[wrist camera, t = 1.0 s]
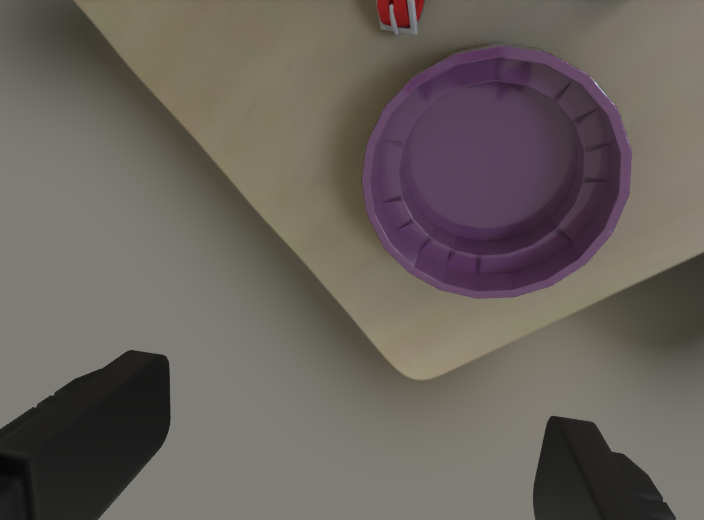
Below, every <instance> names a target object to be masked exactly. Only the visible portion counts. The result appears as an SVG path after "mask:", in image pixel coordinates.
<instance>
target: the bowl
mask: <svg viewBox="0 0 704 520" xmlns="http://www.w3.org/2000/svg"><path fill="white" fill-rule="evenodd" d="M631 161H632V149H631V146H630V143H629V140H628V137H627V134H626V131H625V128H624V125H623V122H622V119H621V116H620V113H619V110H618V108H617V107H616V106H615V105H614V104H613V102H612V101H611V100H610V99H609V98H608V96H607V95H606V94H605V93H604V92H603V90H602V89H601V88H600V87H599V86H598V85H597V83H596V82H595V81H594V80H593V79H592V77H591V76H590V75H588V74H587V73H585V72H583V71H581V70H580V69H578V68H576V67H574V66H572V65H570V64H569V63H567V62H565V61H563V60H561V59H559V58H557V57H556V56H554V55H552V54H550V53H548V52H546V51H544V50H542V49H539V48H535V47H528V46H521V45H515V44H508V43H501V42H500V43H492V44H487V45H482V46H476V47H471V48H466V49H460V50H458V51H456V52H454V53H452V54H450V55H449V56H447V57H445V58H443V59H441V60H439V61H438V62H436V63H434V64H432V65H430V66H428V67H427V68H425V69H423V70H422V71H421V72H419V73H418V74H416V75H415V76H414V77H413V78H412V79H411V80H410V81H409V82H408V83H407V84H406V85H405V86H404V87H403V88H402V89H401V90H400V91H399V92H398V93H397V94H396V95H395V97H394V98H393V99H392V100H391V101H390V102H389V103H388V104H387V105H386V106H385V108H384V109H383V111H382V113H381V115H380V117H379V119H378V121H377V123H376V125H375V127H374V129H373V131H372V133H371V135H370V138H369V140H368V142H367V145H366V151H365V158H364V165H363V173H362V188H363V194H364V199H365V205H366V210H367V216H368V218H369V220H370V222H371V224H372V226H373V228H374V230H375V232H376V234H377V235H378V237H379V239H380V241H381V243H382V245H383V247H384V248H385V249H386V250H387V251H388V252H389V253H390V254H391V255H392V256H393V257H394V258H395V259H396V260H397V261H398V262H399V263H400V264H401V265H402V266H403V267H404V268H405V269H406V270H407V271H408V272H409V273H410V274H412V275H414V276H416V277H417V278H419V279H421V280H423V281H425V282H426V283H428V284H430V285H432V286H434V287H436V288H437V289H439V290H442V291H447V292H451V293H455V294H459V295H463V296H468V297H472V298H504V297H516V296H520V295H523V294H526V293H530V292H533V291H536V290H539V289H543V288H546V287H549V286H552V285H554V284H555V283H557V282H558V281H560V280H562V279H563V278H565V277H566V276H568V275H569V274H571V273H573V272H574V271H576V270H577V269H579V268H580V267H582V266H584V265H585V264H586V263H587V262H588V261H589V260H590V259H591V258H592V256H593V255H594V254H595V253H596V252H597V251H598V250H599V248H600V247H601V246H602V245H603V244H604V243H605V242H606V240H607V239H608V238H609V237H610V236H611V235H612V234H613V232H614V229H615V227H616V225H617V222H618V220H619V218H620V215H621V213H622V211H623V208H624V206H625V203H626V201H627V199H628V196H629V193H630V179H631Z"/></svg>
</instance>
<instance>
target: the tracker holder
mask: <svg viewBox="0 0 704 520" xmlns="http://www.w3.org/2000/svg"><path fill="white" fill-rule="evenodd" d="M423 4H424V0H376V5H377V11H378V16H379V22H380V28H381V29H382V30H387V31H393V32H394V35H396V36H397V35H398V34H399V33H404V34H409V35H416V34H417V33H418V26H417V21H418V20H419V18H420V15H421V12H422V9H423Z"/></svg>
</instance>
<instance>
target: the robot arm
mask: <svg viewBox="0 0 704 520" xmlns="http://www.w3.org/2000/svg"><path fill="white" fill-rule="evenodd" d="M169 426H170V371H169V361H168V359H167V357H166V356H164V355H160V354H153V353H147V352H140V351H134V350H130V351H127V352H125V353H124V354H122V355H121V356H120V357H118V358H117V359H115V360H114V361H113V362H111V363H110V364H108V365H107V366H105V367H104V368H102V369H99V370H96V371H94V372H91V373H89V374H86V375H84V376H81V377H79V378H76V379H74V380H73V381H71V382H70V383H68V384H67V385H65V386H64V387H62V388H61V389H60V390H58V391H56V392H55V394H54V396H49V397H48V398H46V399H44V400H43V401H41V402H40V403H38V404H37V407H36V408H34V407H32V408H31V409H30V410H28V411H27V412H25V413H24V414H22V415H21V416H19V417H18V418H17V419H15V420H13V421H12V422H10V423H9V424H7V425H6V426H4V427H3V428H1V429H0V520H98V519H99V518H100V517H101V515H102V514H103V513H104V512H105V511H106V510H107V509H108V507H109V506H110V505H111V504H112V503H113V502H114V501H115V499H116V498H117V497H118V496H119V495H120V494H121V493H122V491H123V490H124V489H125V488H126V487H127V486H128V484H129V483H130V482H131V481H132V480H133V479H134V478H135V477H136V475H137V474H138V473H139V472H140V471H141V469H143V467H144V466H145V465H146V464H147V463H148V462H149V461H150V459H151V458H152V457H153V456H154V455H155V454H156V452H157V451H158V450H159V449H160V448H161V446H162V445H163V443H164V441H165V439H166V436H167V434H168V431H169ZM533 507H534V514H535V520H676V517H675V516H674V514H673V513H672V511H671V510H670V508H669V507H668V505H667V503H666V502H663V497H662V496H661V494H660V493H659V491H658V490H657V488H656V487H655V485H654V484H653V482H652V481H651V479H650V477H649V476H648V475H647V474H646V473H645V472H644V471H643V470H642V469H641V468H639V467H638V466H637V465H636V464H635V463H633V462H632V461H631V460H630V459H629V458H628V457H626V456H625V455H624V454H621V453H615V452H611V450H610V448H609V446H608V445H607V443H606V441H605V440H604V438H603V436H602V434H601V433H600V431H599V429H598V428H597V426H596V425H595V424H594V423H593V422H590V421H583V420H577V419H570V418H564V417H557V416H551V417H550V418H549V420H548V422H547V426H546V430H545V435H544V439H543V444H542V449H541V454H540V458H539V463H538V468H537V472H536V477H535V482H534V490H533Z"/></svg>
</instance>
